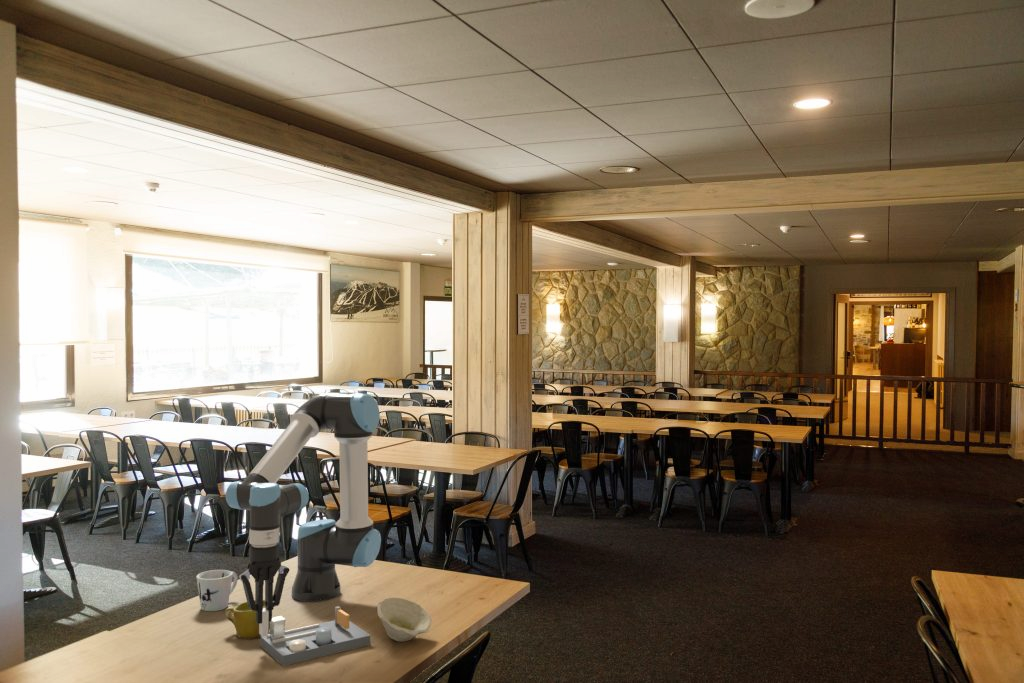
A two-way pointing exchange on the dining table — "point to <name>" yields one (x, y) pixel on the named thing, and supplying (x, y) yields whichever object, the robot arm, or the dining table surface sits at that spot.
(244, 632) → the mug
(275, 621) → the slider knob
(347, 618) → the paddle
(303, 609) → the dining table surface
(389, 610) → the bowl
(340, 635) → the panel
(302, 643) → the button ivory
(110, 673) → the dining table surface
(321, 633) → the button bluegrey
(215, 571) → the mug
